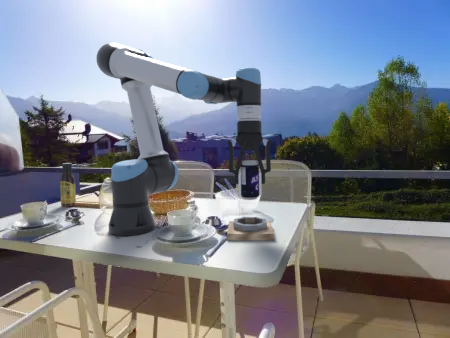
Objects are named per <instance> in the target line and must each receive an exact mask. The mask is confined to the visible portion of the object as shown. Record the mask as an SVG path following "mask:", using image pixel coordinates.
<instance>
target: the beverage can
mask: <svg viewBox="0 0 450 338" xmlns="http://www.w3.org/2000/svg"><path fill="white" fill-rule="evenodd" d="M259 173H260V167H259V164H258V161H257V159H256V160H252V159H251V160H248V159H247V160H242V162H241V166H240V174H241V195H240V196H241V197H242V198H243V200H247V201H252V200H253V201H254V200H257V199H258V198H259V197H260V195H259Z"/></svg>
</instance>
